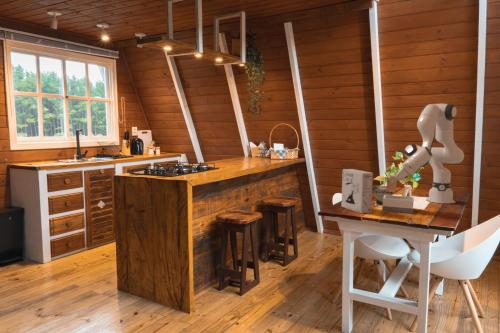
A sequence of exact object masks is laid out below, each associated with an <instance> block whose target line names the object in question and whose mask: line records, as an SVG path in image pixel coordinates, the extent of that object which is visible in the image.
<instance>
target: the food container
mask: <svg viewBox="0 0 500 333" xmlns="http://www.w3.org/2000/svg"><path fill="white" fill-rule="evenodd" d="M394 193H395V192H391V191H389V189H382V188H381V189H375V191H374V194H375V201H376V202H375V203H376V204H375V205H376V206H377V205H378V206H383V197H384V195H395V194H394Z"/></svg>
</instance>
